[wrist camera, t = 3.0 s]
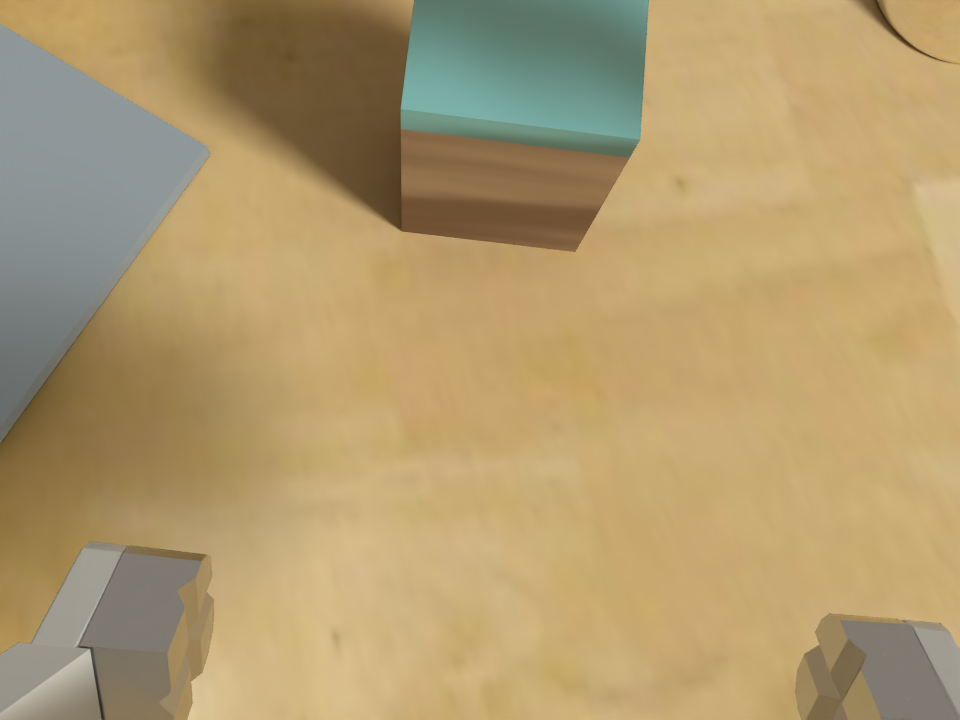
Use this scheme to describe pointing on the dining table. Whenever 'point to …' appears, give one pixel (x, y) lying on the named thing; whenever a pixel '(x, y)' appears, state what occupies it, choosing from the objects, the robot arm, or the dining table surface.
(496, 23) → the green and brown block
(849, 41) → the dining table surface
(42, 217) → the slate mat
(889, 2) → the silver metal tumbler
